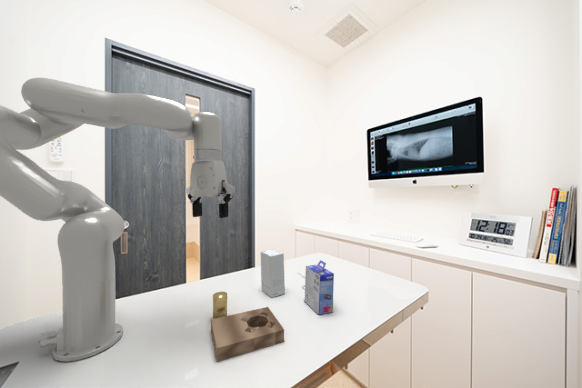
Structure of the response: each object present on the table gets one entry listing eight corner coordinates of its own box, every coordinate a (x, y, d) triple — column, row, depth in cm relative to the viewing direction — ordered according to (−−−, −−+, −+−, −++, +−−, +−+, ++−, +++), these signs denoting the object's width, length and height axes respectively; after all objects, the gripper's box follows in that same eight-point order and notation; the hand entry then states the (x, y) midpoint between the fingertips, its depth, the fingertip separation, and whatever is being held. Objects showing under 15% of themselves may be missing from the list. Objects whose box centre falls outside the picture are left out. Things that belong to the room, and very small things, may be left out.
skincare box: (285, 294, 81) (285, 253, 81) (270, 298, 78) (270, 255, 78) (273, 286, 88) (274, 248, 88) (259, 289, 85) (260, 250, 85)
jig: (216, 361, 49) (216, 348, 49) (210, 330, 60) (211, 319, 60) (284, 341, 56) (284, 329, 56) (267, 316, 67) (268, 306, 67)
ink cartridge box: (334, 312, 70) (334, 265, 69) (318, 316, 67) (319, 268, 67) (318, 298, 79) (318, 257, 78) (304, 301, 76) (304, 258, 76)
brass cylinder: (213, 323, 63) (213, 299, 63) (212, 316, 66) (212, 293, 66) (228, 320, 65) (228, 296, 64) (225, 313, 68) (226, 290, 68)
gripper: (175, 158, 64) (177, 217, 65) (224, 153, 58) (226, 219, 58) (195, 161, 71) (197, 214, 72) (241, 157, 65) (243, 216, 65)
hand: (210, 216), depth 65 cm, fingers open, 9 cm apart
